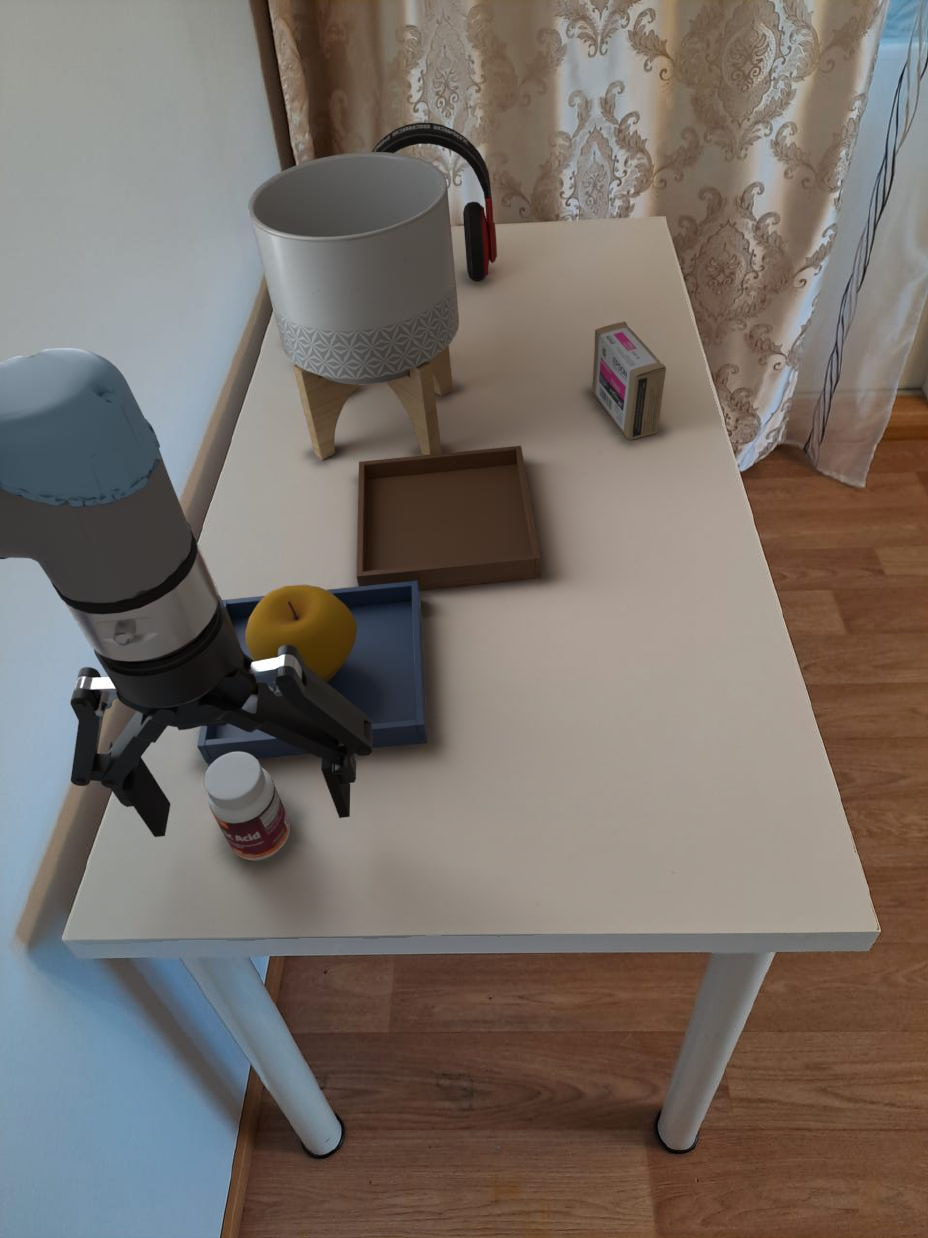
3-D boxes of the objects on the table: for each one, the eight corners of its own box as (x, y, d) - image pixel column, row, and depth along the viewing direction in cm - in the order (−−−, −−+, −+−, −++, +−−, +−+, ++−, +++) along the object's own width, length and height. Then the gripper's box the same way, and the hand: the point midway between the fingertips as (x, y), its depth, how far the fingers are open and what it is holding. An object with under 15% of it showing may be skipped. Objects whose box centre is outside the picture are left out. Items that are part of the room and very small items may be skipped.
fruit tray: (206, 764, 74) (197, 746, 72) (228, 618, 85) (220, 599, 83) (427, 743, 74) (423, 724, 72) (420, 599, 85) (417, 580, 83)
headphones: (370, 304, 123) (345, 148, 108) (373, 268, 129) (349, 117, 115) (499, 292, 122) (491, 135, 107) (495, 258, 129) (487, 105, 114)
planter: (501, 420, 103) (488, 186, 83) (367, 496, 95) (319, 259, 76) (402, 357, 113) (370, 136, 94) (274, 422, 106) (211, 197, 87)
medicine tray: (360, 595, 86) (356, 576, 84) (362, 480, 97) (358, 461, 95) (541, 577, 86) (541, 558, 84) (521, 464, 97) (521, 445, 95)
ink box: (590, 392, 105) (592, 327, 99) (620, 385, 106) (625, 319, 99) (628, 442, 98) (633, 375, 92) (660, 433, 99) (667, 366, 93)
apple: (378, 641, 81) (362, 570, 74) (344, 722, 75) (324, 652, 69) (284, 627, 83) (261, 557, 76) (245, 705, 77) (216, 636, 70)
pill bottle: (219, 854, 68) (185, 796, 62) (247, 800, 71) (217, 740, 65) (275, 869, 67) (247, 811, 61) (301, 814, 70) (277, 754, 64)
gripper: (-84, 693, 49) (75, 875, 64) (374, 644, 48) (423, 839, 64) (-41, 594, 54) (97, 784, 70) (374, 548, 53) (419, 750, 69)
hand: (253, 811), depth 67 cm, fingers open, 13 cm apart
